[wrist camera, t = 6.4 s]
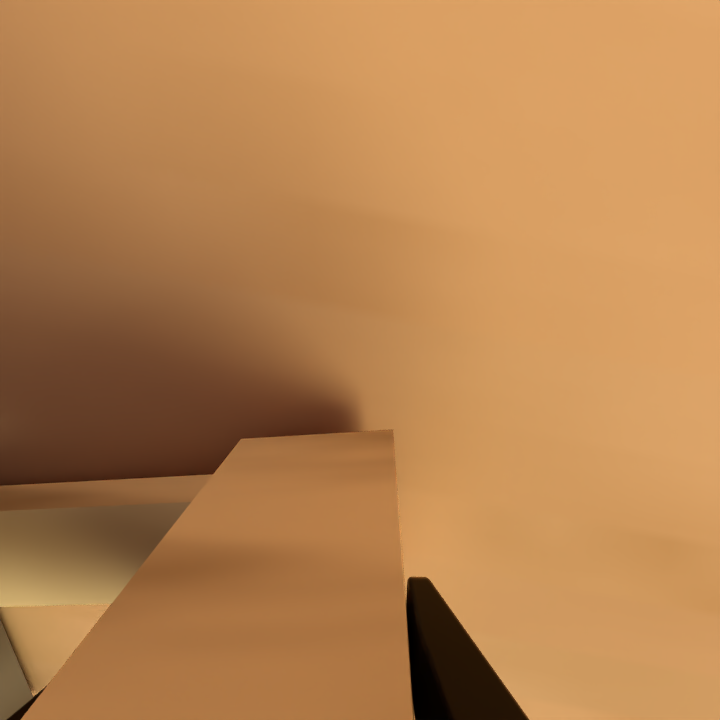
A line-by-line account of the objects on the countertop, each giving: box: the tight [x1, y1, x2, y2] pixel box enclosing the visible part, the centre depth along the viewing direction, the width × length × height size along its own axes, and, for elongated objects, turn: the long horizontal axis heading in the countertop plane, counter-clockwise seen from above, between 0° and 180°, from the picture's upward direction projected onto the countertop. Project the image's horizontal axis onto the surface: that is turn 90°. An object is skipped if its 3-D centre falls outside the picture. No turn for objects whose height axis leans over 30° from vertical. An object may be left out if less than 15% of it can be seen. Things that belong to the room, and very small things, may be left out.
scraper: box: [0, 430, 415, 720], centre depth 7 cm, size 14×15×8 cm
